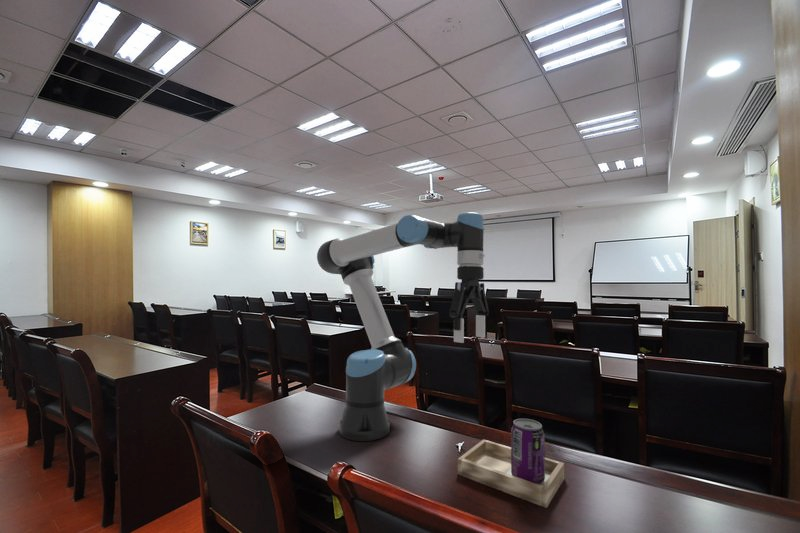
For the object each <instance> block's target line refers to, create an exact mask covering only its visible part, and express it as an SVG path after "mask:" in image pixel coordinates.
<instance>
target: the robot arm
mask: <svg viewBox="0 0 800 533" xmlns="http://www.w3.org/2000/svg"><path fill="white" fill-rule="evenodd" d="M484 230H485V228H484V217H483V215H482V214H481V213H478V212H471V211H470V212H463V213H459V214H458V215H457V219H456V221H452V222H443V223H441V222H438V221H435V220H431V219H428V218H424V217H421V216H420V215H416V214H407V215H404V216H403V217H402V218H400V219H399V221H397V223H393V224H390V225H387V226H383V227H381V228H380V227H379V228H377V229H374V230H370V231H367V232H364V233H361V234H357V235H355V236H351V237H348V238H345V239H343V238H340V237H338V238H334V239H331V240H328V241H326V242H324V243H322V244H321V245H320V247H319V248H318V250H317V253H316V260H317V264H318V265H319V267H320V268H321V269H322V270H323V271H324V272H326V273H328V274H332V275H340V276H341V279H342V281H343V284H344V285H347V286H349V288H350V290H351V294H352V297H353V299H354V300H353V301H354V302H355V304H356V307H357V310H358V313H359V315H360V318H361V321H362V324H363V327H364V329H365V332H366V335H367V337H368V340H369V343H370V346H371V348H370V349H366V350H365V349H364V350H361V349H360V350H358V351H355V352H353V353H351V354H350V355H349V356H348V357H347V359H346V366H345V379H346V380H345V406H344V409H343V412H342V418H341V420H340V422H339V428H338V430H339V431H338V433H339V435H340V436H341V437H343V438H344V439H347V440H350V441H354V442H370V441H376V440H379V439H382V438H385V437H386V436H388V434H390V430H391V429H390V426H391V425H390V420H389V418H388V415H387V409H386V406H385V391H386V390H389V389H392V388H395V387H398V386H402V385H404V384H406V383H407V382H410V381H411V379H412V378H413V377H414V375H415V373H416V369H417V361H416V360H417V359H416V358H415V355H414V353H413V351H412V350H410V349H408V348H407V347H404V344H403V342H402V340H401V339H399V338H398V337H396V336H395V334H394V331H393V329H392V327H391V325H390V322H389V319H388V316H387V314H386V312H385V309H384V307H383V304H382V303H383V302H382V301H381V298H380V296H379V294H378V291H377V288H376V286H375V284H374V280H373V278H372V276H373V275H374V270H373V269H374V268H375V265H374V264H375V256H376V255H382V254H385V253H388V252H393V251H395V250H400V249H403V248H408V247H412V246H416V245H421V246H423V247H424V248H426V249H434V250H436V249H444V248H457V258H456V259H457V261H456V262H457V263H456V265H457V266H458V267H457V271H456V272H457V275H456V277H457V279H458V280H461V281H458V282H457V281H456V282H455V283H454V292H453V296H452V300H451V304H450V307H449V312H448V315H449V318H451V319H453V342H454V343H458V344H459V343H460V344H464V343H465V338H464V336H465V331H464V330H465V326H464V325H465V319H464V318H463V316H464V313H465V312H466V308H467V306H468V303H469V301H470V300H471V302H472V304H473V307H474V309H475V312H476V315H475V338H476V337H477V338H486V316H489V312H490V309H489V305H488V300H487V295H486V291H485V283H484V282H479V280H480V281H482V280H484V275H485V274H484V267H483V265H484V258H485V254H484V234H485V233H484Z"/></svg>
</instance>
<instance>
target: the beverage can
mask: <svg viewBox="0 0 800 533" xmlns="http://www.w3.org/2000/svg"><path fill="white" fill-rule="evenodd" d="M510 445H511V446H510V447H511V473H512V475H513V476H515V477H518V478H521V479H524V480H527V481H530V482H532V483H535V484H537V483H541V482H543V481H544V479H545V458H546V457H545V454H546V453H545V452H546V451H545V449H546V448H545V432H544V429H543V425H542V423H540V421H537V420H535V419H530V418H517V419H514V420H513V421H512V427H511V429H510Z"/></svg>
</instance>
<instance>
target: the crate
mask: <svg viewBox="0 0 800 533" xmlns="http://www.w3.org/2000/svg"><path fill="white" fill-rule="evenodd" d="M457 475H459V476H461V477H464V478H467V479H469V480H472V481H474V482H477V483H480V484H482V485H485V486H488V487H490V488H493V489H495V490H498V491H502V492H503V493H506V494H508V495H511V496H512V497H513V496H514V497H516V498H519V499H521V500H525V501H527V502H530V503H532V504H535V505H537V506H540V507H543V508H545V509H547V508H548V506H549V505H550V503H551V501H552V500H553V498H554V497H555V495H556V493H557V492H558V491H559V488H560V487H561V486H562V483H563V482H564V481H565V462H561V461H557V460H555V459H551V458H548V457H545V479H544V481H543V482H541V483H537V484H535V483H532V482H530V481H527V480H524V479H521V478H518V477H515V476H513V475H512V473H511V446H508V445H504V444H501V443H497V442H495V441H490V440H487V439H481V440H480V441H479V442H478V443H477V444H476V445H474V446H472V448H470V449H469V450H467V451H466V452H465V453H464V454H462V455H461V456H460V457H458V458H457Z"/></svg>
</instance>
